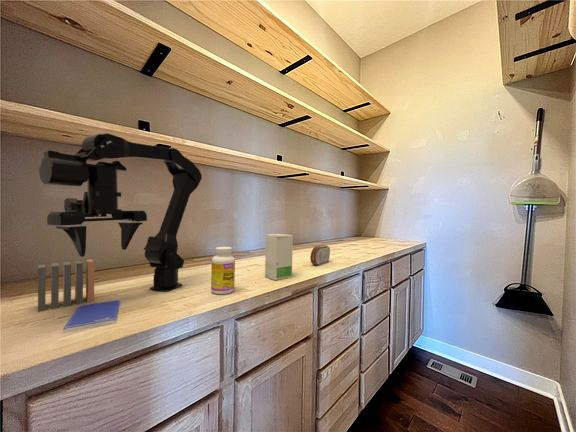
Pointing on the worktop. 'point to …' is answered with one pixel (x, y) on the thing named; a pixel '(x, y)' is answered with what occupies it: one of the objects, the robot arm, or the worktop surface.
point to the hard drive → (93, 316)
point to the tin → (320, 255)
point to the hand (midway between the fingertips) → (104, 252)
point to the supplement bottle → (223, 271)
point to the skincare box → (278, 256)
